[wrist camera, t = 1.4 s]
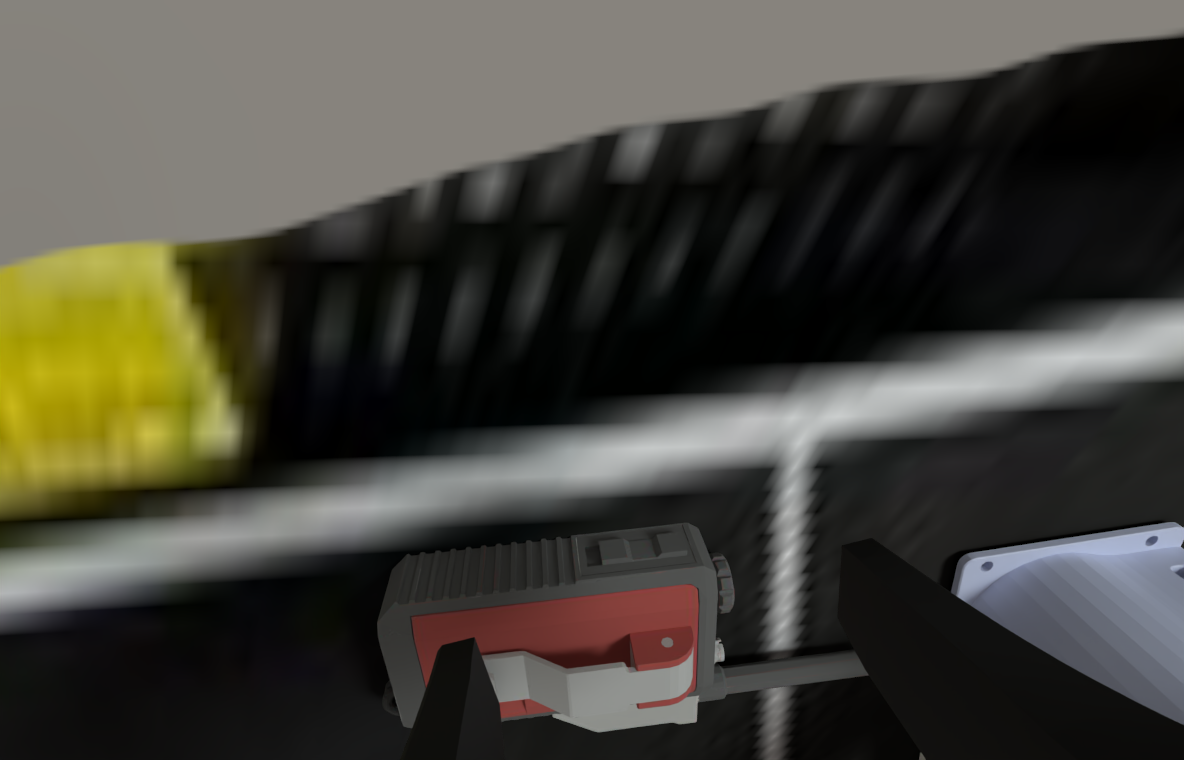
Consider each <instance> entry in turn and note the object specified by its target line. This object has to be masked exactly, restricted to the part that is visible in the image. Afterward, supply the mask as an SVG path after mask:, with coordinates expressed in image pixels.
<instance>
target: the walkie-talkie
mask: <svg viewBox="0 0 1184 760" xmlns="http://www.w3.org/2000/svg"><path fill="white" fill-rule="evenodd" d="M733 605H734V587H733V581H732V575H731V571H730V568H729V565H728V563H727V561H726V559H725V557H724V556H723V555H722V554H720V553H708V551H707V548H706V546H705V544H704V541H703V539H702V536H701V534H700V531H699V529H698V528H697V527H695V526H693V525H691V524H689V523H680V524H671V525H662V526H653V527H644V528H635V529H626V530H617V531H608V532H599V533H590V534H582V535H573V536H571V537H570V538H565V539H561V537H556V539H555V540H546V539H541V541H538V542H531V540H528V541H526V543H520V544H517V543H516V542H511V545H503V546H502V545H501V544H496V546H494V547H486V545H483V546H481V548H476V549H472V548H471V547H466V549H465V550H458V551H457V550H456V549H451V550H450V551H449V552H441V551H440V550H439V551H435V553H431V554H426V553H425V552H421V553H420V555H413V556H411V555H410V554H407V555H406V556H405V557H404V558H403V559H402V560H401V561H400V562H399V563H398V564H397V565H396V566H395V567H394V568H393V569H392V571H391V575H390V578H389V582H388V586H387V589H386V593H385V596H384V600H383V603H382V607H381V610H380V614H379V618H378V621H377V630H378V639H379V643H380V647H381V651H382V654H383V657H384V661H385V664H386V668H387V671H388V675H389V678H390V681H388V682H387V683H386V685H385V692H384V694H383V703H382V706H383V708H384V709H385V710H386V711H387V712H389V713H391V714H393V715H399V716H400V717H401V720H402V723H403V726H404V727H408V728H412V727H413V725H414V722H415V719H416V716H417V713H418V711H419V708H420V705H421V702H422V699H423V696H424V693H425V690H426V687H427V684H428V681H429V678H430V675H431V671H432V668H433V665H434V661H435V658H436V654H437V651H438V650H439V648H440V647H441V646H442V645H444V644H448V643H452V642H456V641H461V640H465V639H469V638H473V637H475V639H476V642H477V645H478V647H479V650H480V653H481V656H482V658H483V661H484V664H485V666H486V669H487V672H488V674H489V677H490V680H491V682H492V685H493V688H494V690H495V693H496V696H497V699H498V701H499V704H500V712H501V722H503V721H506V720H518V719H521V718H533V717H536V716H548V715H552V717H554V718H557V719H560V720H563V721H566V722H569V723H572V724H575V725H578V726H580V727H583V728H586V729H589V730H592V731H595V732H604V731H611V730H618V729H625V728H633V727H641V726H648V725H656V724H663V723H671V722H674V723H677V724H685V723H693V722H696V721H697V702H704V701H710V700H717V699H724V698H725V696H726V694H732V693H739V692H747V691H754V690H762V689H769V688H777V687H784V686H792V685H800V684H807V683H815V682H822V681H830V680H837V679H845V678H852V677H860V676H867V675H868V673H867V672H866V670H865V669H864V667H863V665H862V663H861V661H860V659H859V658H858V656H857V654H856V652H855V650H854V649H853V650H846V651H838V652H830V653H822V654H815V655H807V656H799V657H791V658H783V659H776V660H768V661H760V662H752V663H745V664H737V665H729V666H720V665H719V664H715V662H720V661H724V657H725V656H724V649H723V645H722V644H719V642H721V639H720V638H716V621H717V612H719V613H727V612H730V611H731V609H732V607H733Z"/></svg>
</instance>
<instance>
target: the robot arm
mask: <svg viewBox="0 0 1184 760" xmlns="http://www.w3.org/2000/svg"><path fill="white" fill-rule="evenodd" d="M1183 540H1184V528H1183V527H1182V526H1180V525H1179V524H1177V523H1175V522H1167V523H1161V524H1154V525H1148V526H1141V527H1135V528H1128V529H1122V530H1115V531H1109V532H1102V533H1096V534H1089V535H1083V536H1076V537H1070V538H1064V539H1057V540H1051V541H1044V542H1038V543H1031V544H1025V545H1018V546H1012V547H1005V548H999V549H992V550H986V551H979V552H973V553H968V554H965V555H964V556H962V557H961V558H960V559H959V561H958V563H957V567H956V572H955V576H954V581H953V585H952V590H951V592H950V591H948V590H947V589H945V588H944V587H942V586H941V585H939V584H938V583H936V582H935V581H933V580H932V579H931V578H929V577H928V576H926V575H925V574H923V573H922V572H920V571H919V570H917V569H916V568H915V567H913V566H912V565H910V564H909V563H907V562H906V561H904V560H903V559H902V558H900V557H899V556H897V555H896V554H894V553H893V552H891V551H890V550H889V549H887V548H886V547H884V546H883V545H881V544H880V543H878V542H877V541H875V540H874V539H872V538H870V539H866V540H862V541H858V542H854V543H850V544H846V545H842V555H841V571H840V586H839V602H838V619H839V621H840V623H841V625H842V627H843V629H844V631H845V633H846V635H847V637H848V639H849V641H850V643H851V645H852V647H853V648H854V650H855V652H856V654H857V656H858V658H859V659H860V661H861V663H862V665H863V667H864V669H865V670H866V672H867V673H868V675H869V676H870V678H871V679H872V681H873V682H874V684H875V685H876V687H877V688H878V690H879V691H880V693H881V694H882V696H883V697H884V699H885V700H886V702H887V703H888V705H889V706H890V708H891V709H892V711H893V712H894V713H895V715H896V716H897V718H898V719H899V721H900V722H901V724H902V725H903V727H904V728H905V730H906V731H907V733H908V734H909V735H910V737H911V738H912V740H913V741H914V743H915V744H916V746H917V747H918V749H919V750H920V752H921V753H922V755H923V756H924V758H925V759H926V760H1184V549H1183V548H1182V547H1181V544H1182V542H1183ZM400 760H504V747H503V734H502V723H501V712H500V704H499V701H498V699H497V696H496V693H495V690H494V688H493V685H492V682H491V680H490V677H489V674H488V672H487V669H486V666H485V664H484V661H483V658H482V656H481V653H480V650H479V647H478V645H477V642H476V639H475V637H473V638H469V639H465V640H461V641H456V642H452V643H448V644H444V645H442V646H441V647H440V648H439V650H438V651H437V654H436V658H435V661H434V665H433V668H432V671H431V675H430V678H429V681H428V684H427V687H426V690H425V693H424V696H423V699H422V702H421V705H420V708H419V711H418V713H417V716H416V719H415V722H414V725H413V727H412V730H411V733H410V735H409V738H408V740H407V743H406V746H405V748H404V751H403V753H402V756H401V759H400Z"/></svg>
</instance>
